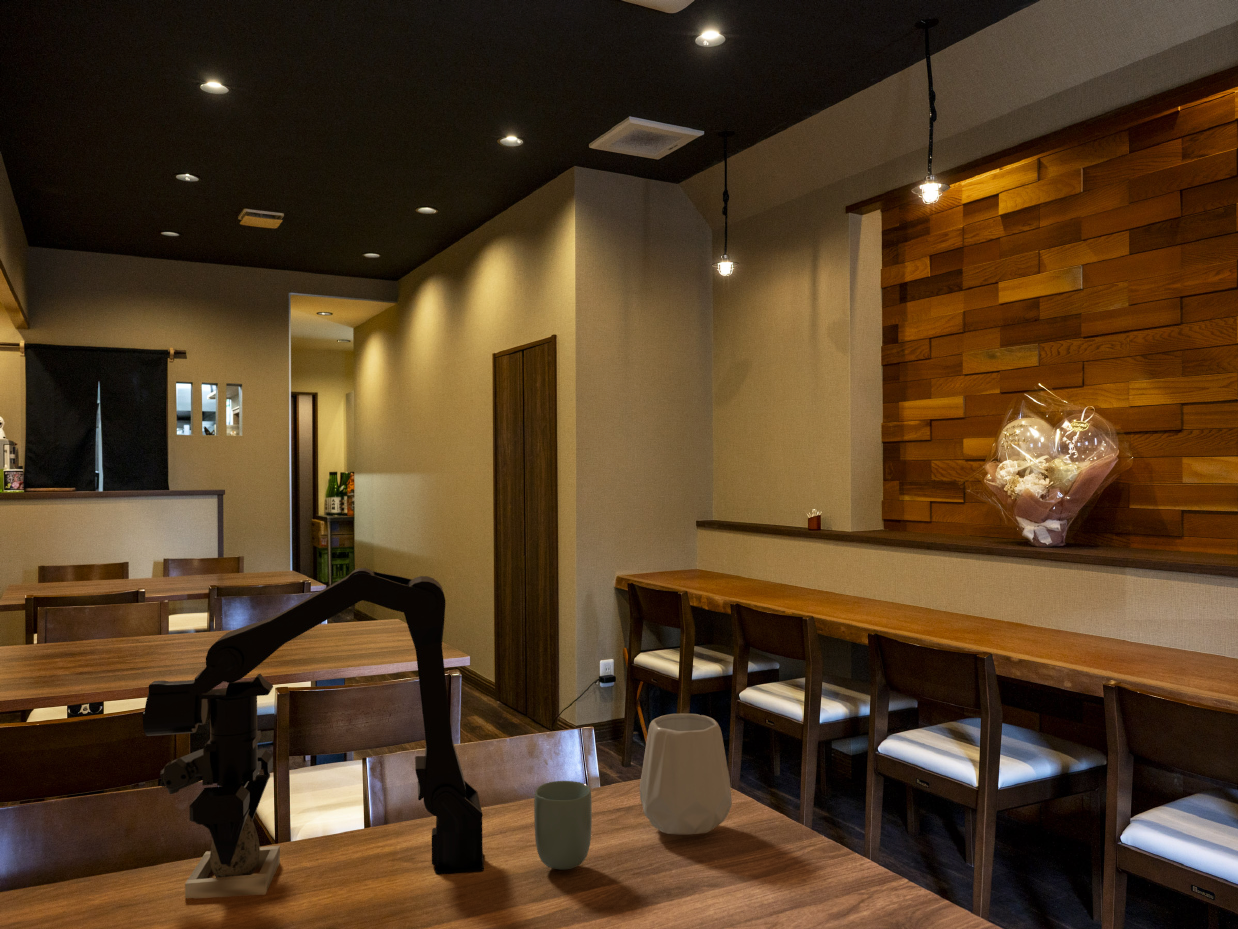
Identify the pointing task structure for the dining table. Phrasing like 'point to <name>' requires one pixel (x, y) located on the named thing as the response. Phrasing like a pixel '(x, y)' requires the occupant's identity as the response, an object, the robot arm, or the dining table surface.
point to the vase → (685, 775)
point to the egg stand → (233, 878)
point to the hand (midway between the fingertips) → (234, 848)
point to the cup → (563, 823)
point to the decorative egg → (239, 854)
